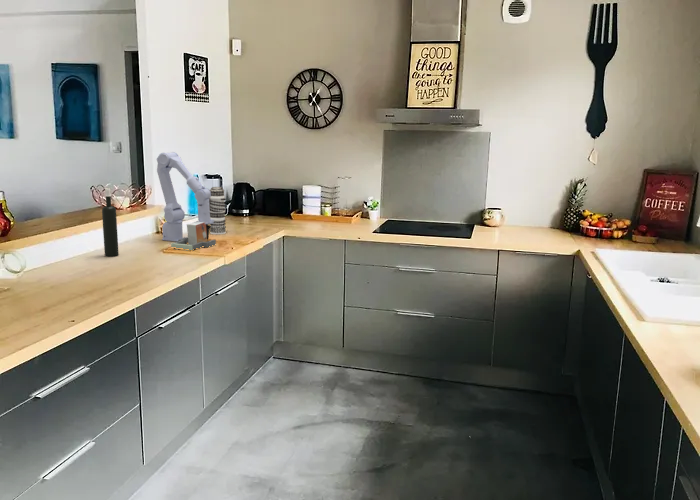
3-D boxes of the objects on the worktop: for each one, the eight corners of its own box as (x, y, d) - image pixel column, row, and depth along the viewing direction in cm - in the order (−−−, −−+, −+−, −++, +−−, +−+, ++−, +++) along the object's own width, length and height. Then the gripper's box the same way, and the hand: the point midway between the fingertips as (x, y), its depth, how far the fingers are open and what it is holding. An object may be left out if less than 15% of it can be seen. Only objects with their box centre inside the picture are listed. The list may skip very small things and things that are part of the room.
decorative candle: (222, 230, 329) (221, 186, 324) (229, 233, 322) (228, 187, 317) (206, 232, 324) (205, 186, 319) (212, 235, 317) (211, 188, 312)
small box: (197, 246, 288) (195, 225, 285) (188, 245, 290) (186, 224, 288) (207, 242, 295) (206, 221, 292) (198, 241, 297) (197, 220, 294)
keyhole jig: (166, 248, 282) (166, 243, 281) (187, 241, 297) (187, 237, 297) (196, 251, 277) (196, 246, 276) (215, 244, 292) (215, 239, 292)
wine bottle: (105, 257, 260) (101, 189, 254) (104, 254, 265) (99, 187, 259) (119, 256, 263) (115, 189, 257) (117, 253, 268) (113, 187, 262)
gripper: (202, 215, 286) (204, 242, 289) (218, 211, 299) (219, 237, 302) (190, 214, 288) (191, 241, 291) (206, 210, 302) (207, 236, 304)
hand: (205, 239), depth 297 cm, fingers closed, pressing on small box
